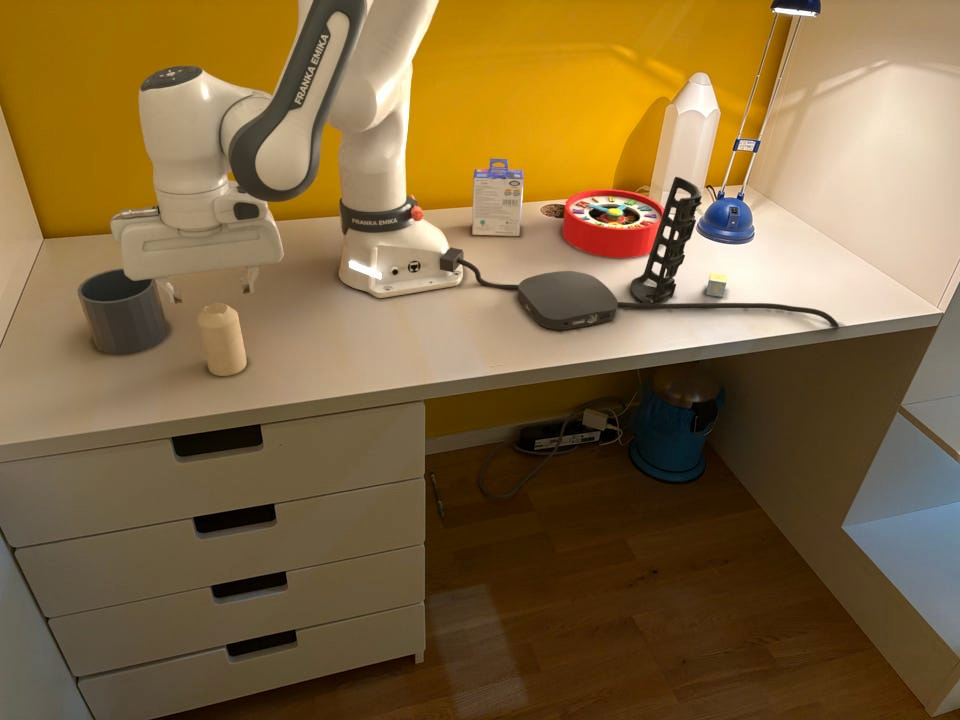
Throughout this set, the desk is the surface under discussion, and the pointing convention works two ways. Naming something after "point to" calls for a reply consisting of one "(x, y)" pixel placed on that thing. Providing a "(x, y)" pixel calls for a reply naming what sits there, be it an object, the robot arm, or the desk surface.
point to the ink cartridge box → (497, 200)
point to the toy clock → (611, 222)
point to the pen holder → (122, 312)
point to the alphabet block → (716, 285)
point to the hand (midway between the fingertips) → (212, 296)
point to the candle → (222, 339)
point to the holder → (669, 245)
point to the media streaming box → (567, 299)
